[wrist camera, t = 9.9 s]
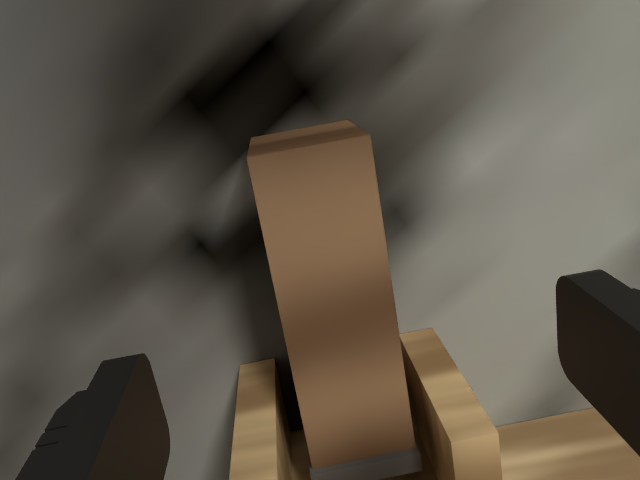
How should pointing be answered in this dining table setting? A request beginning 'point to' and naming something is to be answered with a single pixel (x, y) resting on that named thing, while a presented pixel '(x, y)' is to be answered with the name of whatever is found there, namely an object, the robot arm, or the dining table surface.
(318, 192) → the brown rectangular block
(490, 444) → the light wood notched block
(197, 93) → the dining table surface
